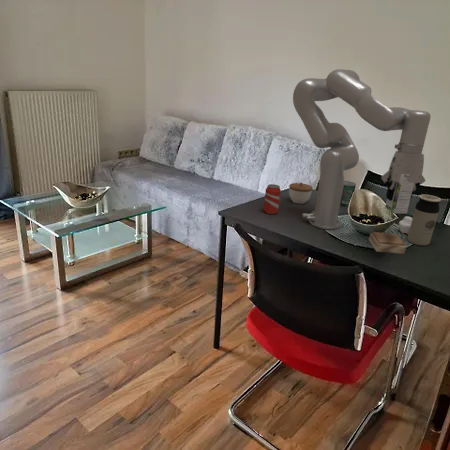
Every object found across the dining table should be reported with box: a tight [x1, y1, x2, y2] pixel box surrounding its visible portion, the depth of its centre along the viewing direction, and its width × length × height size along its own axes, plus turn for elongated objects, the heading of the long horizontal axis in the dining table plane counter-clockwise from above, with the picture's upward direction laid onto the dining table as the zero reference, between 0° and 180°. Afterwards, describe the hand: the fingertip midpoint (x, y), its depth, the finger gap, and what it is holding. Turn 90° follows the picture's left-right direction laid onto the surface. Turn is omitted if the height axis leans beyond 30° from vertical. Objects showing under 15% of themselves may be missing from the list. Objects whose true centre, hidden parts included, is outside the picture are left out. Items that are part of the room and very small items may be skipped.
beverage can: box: [263, 183, 282, 215], centre depth 171 cm, size 6×6×12 cm
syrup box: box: [384, 173, 414, 214], centre depth 139 cm, size 6×6×14 cm
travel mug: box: [406, 194, 442, 246], centre depth 150 cm, size 8×8×18 cm
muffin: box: [398, 215, 413, 235], centre depth 161 cm, size 6×6×7 cm
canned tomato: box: [340, 180, 357, 209], centre depth 188 cm, size 8×8×11 cm
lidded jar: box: [288, 182, 313, 205], centre depth 189 cm, size 11×11×9 cm
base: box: [368, 231, 407, 255], centre depth 147 cm, size 10×10×4 cm
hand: (398, 199), depth 140 cm, fingers closed on syrup box, 5 cm apart
